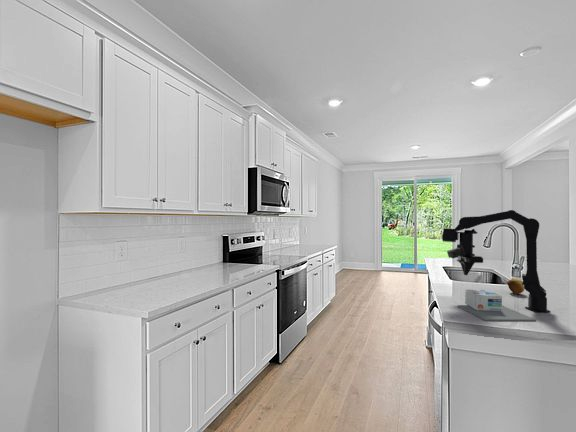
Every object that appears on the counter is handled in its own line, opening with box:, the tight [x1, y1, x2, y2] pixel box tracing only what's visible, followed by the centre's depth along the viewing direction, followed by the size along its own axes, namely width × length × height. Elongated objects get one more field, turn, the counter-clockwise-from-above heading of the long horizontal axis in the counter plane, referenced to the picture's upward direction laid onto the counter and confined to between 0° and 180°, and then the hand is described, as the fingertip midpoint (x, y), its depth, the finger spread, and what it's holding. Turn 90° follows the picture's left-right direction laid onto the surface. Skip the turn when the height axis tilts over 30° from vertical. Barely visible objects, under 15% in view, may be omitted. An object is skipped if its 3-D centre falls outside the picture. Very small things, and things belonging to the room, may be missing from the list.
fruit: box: [506, 277, 525, 295], centre depth 173 cm, size 8×8×8 cm
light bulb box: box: [464, 289, 503, 311], centre depth 144 cm, size 11×7×11 cm
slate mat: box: [457, 304, 537, 322], centre depth 138 cm, size 20×20×1 cm
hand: (465, 275), depth 159 cm, fingers closed
